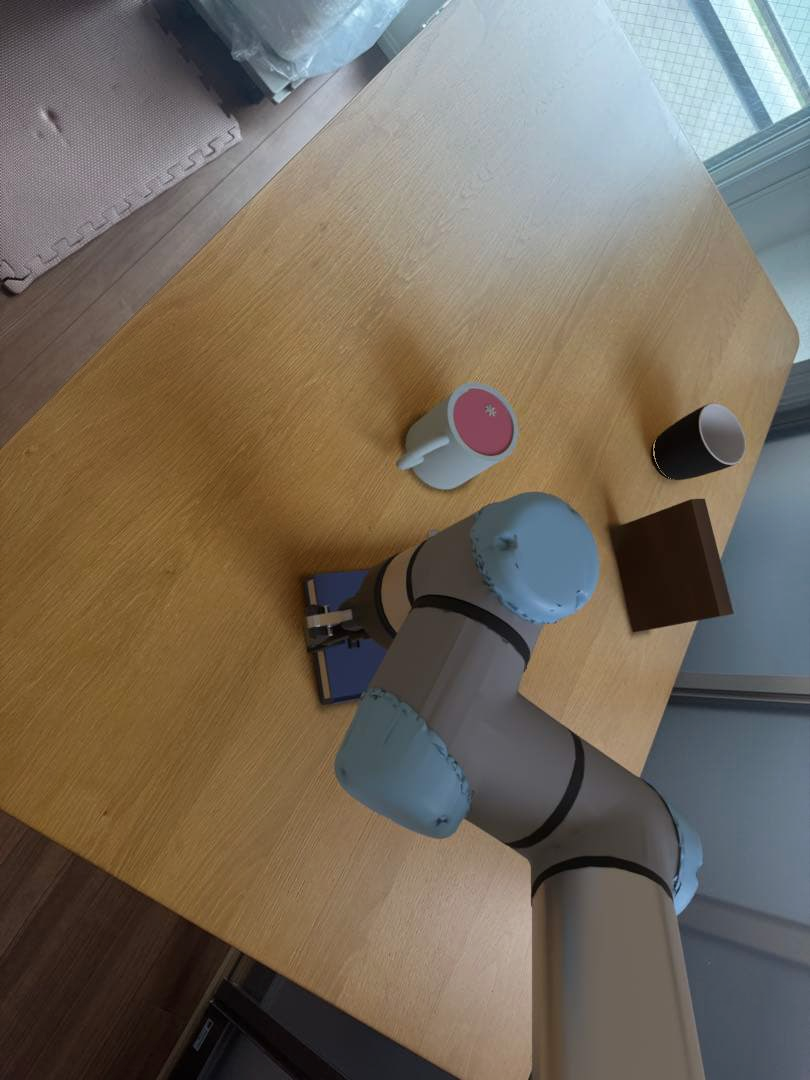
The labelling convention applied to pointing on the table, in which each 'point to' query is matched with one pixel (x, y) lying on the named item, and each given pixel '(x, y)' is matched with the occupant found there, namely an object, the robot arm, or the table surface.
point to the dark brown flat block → (671, 567)
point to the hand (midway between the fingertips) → (312, 638)
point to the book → (340, 666)
